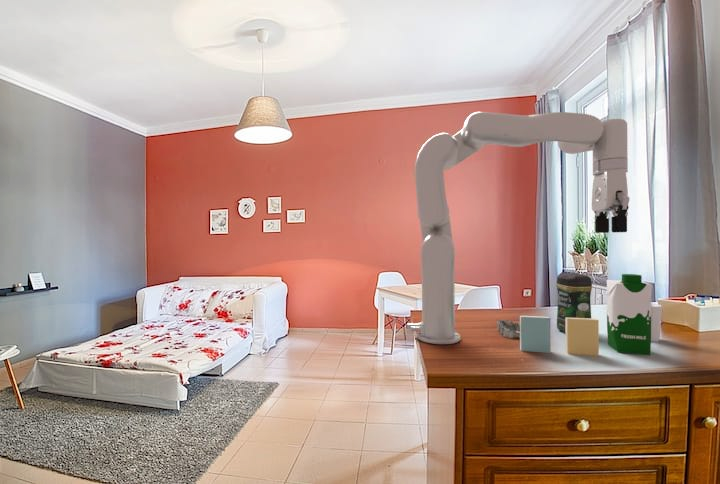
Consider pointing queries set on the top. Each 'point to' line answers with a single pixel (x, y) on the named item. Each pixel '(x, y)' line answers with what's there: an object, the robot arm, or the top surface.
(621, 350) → the milk carton
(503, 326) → the egg carton
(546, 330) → the teal tile
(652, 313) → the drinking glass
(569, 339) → the ochre tile
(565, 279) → the coffee jar
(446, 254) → the robot arm
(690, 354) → the top surface
